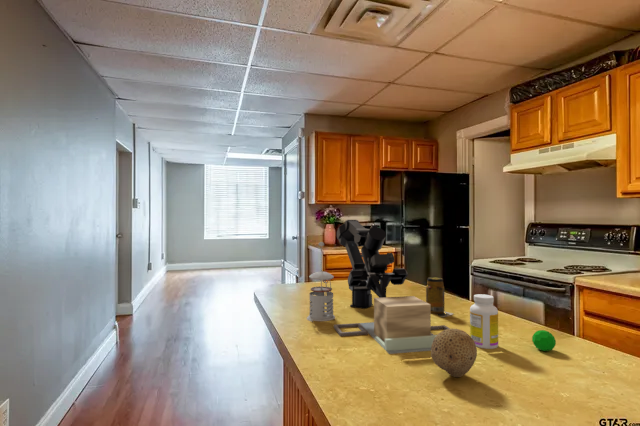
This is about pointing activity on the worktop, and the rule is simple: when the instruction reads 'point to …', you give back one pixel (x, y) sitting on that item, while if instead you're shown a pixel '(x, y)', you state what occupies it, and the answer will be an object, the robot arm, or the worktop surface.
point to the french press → (321, 297)
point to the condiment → (436, 296)
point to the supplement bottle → (484, 322)
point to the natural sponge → (454, 352)
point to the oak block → (401, 317)
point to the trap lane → (393, 343)
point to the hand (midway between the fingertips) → (384, 300)
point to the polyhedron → (543, 340)
